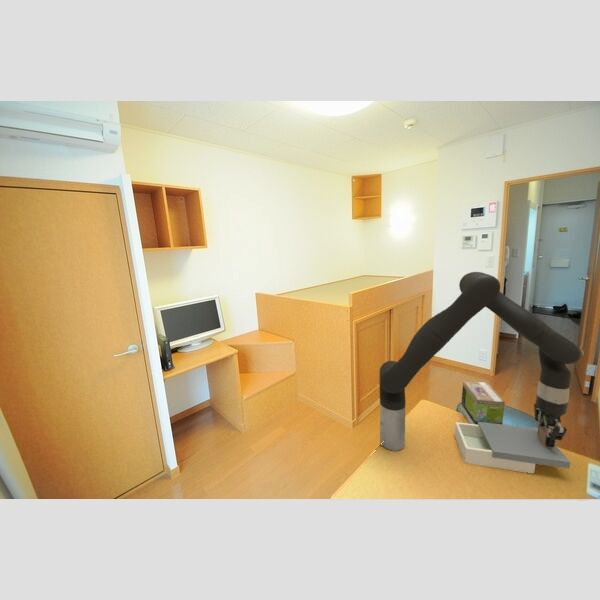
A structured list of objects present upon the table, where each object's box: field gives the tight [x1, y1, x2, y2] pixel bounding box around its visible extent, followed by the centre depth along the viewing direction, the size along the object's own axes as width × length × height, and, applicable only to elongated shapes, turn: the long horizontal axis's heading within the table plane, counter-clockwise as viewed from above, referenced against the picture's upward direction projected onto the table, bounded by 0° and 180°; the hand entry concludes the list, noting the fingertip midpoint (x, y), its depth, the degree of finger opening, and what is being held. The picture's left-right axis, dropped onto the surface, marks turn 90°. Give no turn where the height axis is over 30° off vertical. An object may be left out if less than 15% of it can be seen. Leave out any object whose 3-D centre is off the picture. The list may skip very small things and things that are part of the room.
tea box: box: [460, 380, 506, 425], centre depth 111 cm, size 15×10×15 cm, turn 168°
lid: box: [478, 422, 571, 470], centre depth 93 cm, size 21×15×7 cm
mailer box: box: [454, 421, 536, 474], centre depth 96 cm, size 20×14×6 cm
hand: (545, 440), depth 91 cm, fingers closed on lid, 4 cm apart
